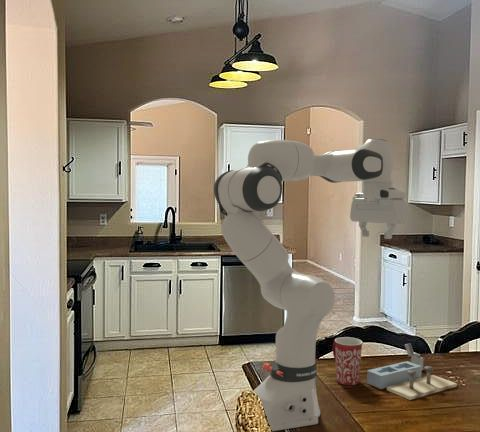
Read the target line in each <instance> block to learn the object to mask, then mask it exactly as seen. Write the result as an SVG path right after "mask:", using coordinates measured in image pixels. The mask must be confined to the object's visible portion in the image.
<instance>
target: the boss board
mask: <svg viewBox="0 0 480 432" xmlns="http://www.w3.org/2000/svg"><path fill="white" fill-rule="evenodd" d="M423 370H426V376H423V377H421V378H419V379H416V380H414V375H416V371H413V370H408V371H407V373H408V374H410V381H408V382H404V383H400V384H396V385H393V386H389V387H387V388H386V391H388V392H390V393H392V394H395V395H398V396H400V397H401V398H404V399H406V400H408V401H411V400H415V399H419V398H421V397H426V396H429V395H432V394H435V393H440V392H443V391H447V390H449V389H450V390H451V389H453V388H456V387H457V385H458V383H456V382H455V381H451V380H448V379H445V378H443V377H440V376H437V375H435V374H431V373H432V372H431V371H434V367H432V366H430V365H426V366H424V367H423Z"/></svg>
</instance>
